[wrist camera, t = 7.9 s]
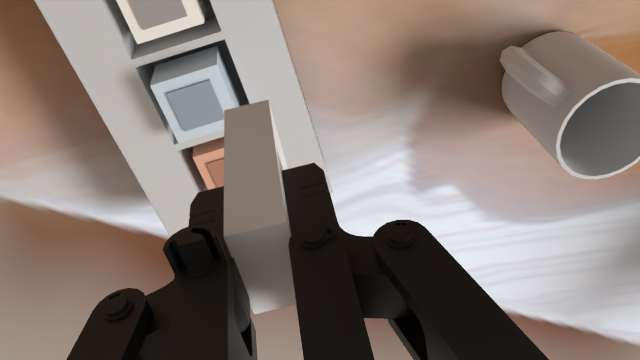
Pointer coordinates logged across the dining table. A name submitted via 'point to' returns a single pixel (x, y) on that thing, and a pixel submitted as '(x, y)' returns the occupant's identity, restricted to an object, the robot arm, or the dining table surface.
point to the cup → (575, 103)
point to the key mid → (194, 93)
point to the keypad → (142, 106)
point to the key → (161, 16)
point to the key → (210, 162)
